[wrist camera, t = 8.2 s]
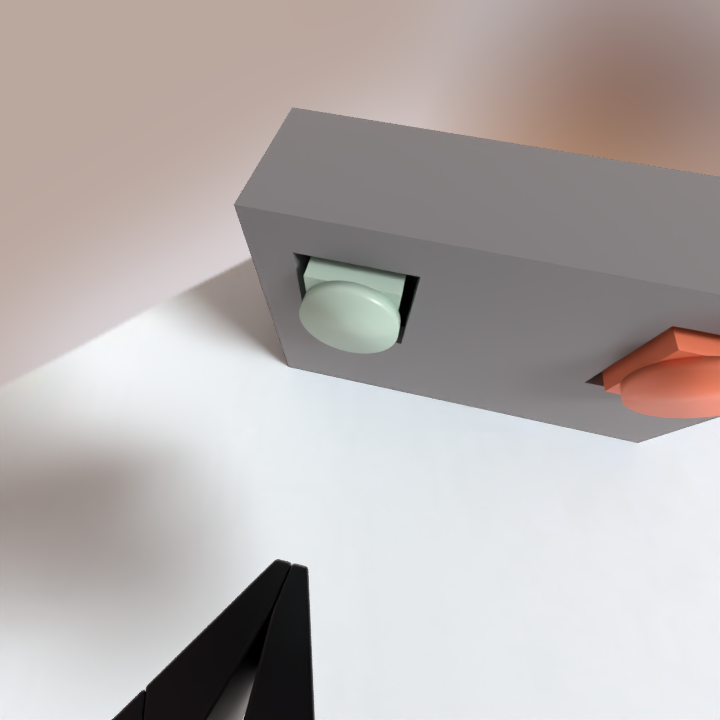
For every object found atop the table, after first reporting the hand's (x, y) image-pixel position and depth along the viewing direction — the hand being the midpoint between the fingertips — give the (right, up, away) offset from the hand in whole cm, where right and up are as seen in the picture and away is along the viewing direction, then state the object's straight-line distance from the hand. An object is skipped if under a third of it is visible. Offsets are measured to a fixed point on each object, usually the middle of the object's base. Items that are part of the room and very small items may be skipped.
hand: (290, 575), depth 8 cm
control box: (+8, +5, +13) cm, 16 cm away
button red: (+14, +5, +7) cm, 17 cm away
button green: (+2, +8, +8) cm, 11 cm away
